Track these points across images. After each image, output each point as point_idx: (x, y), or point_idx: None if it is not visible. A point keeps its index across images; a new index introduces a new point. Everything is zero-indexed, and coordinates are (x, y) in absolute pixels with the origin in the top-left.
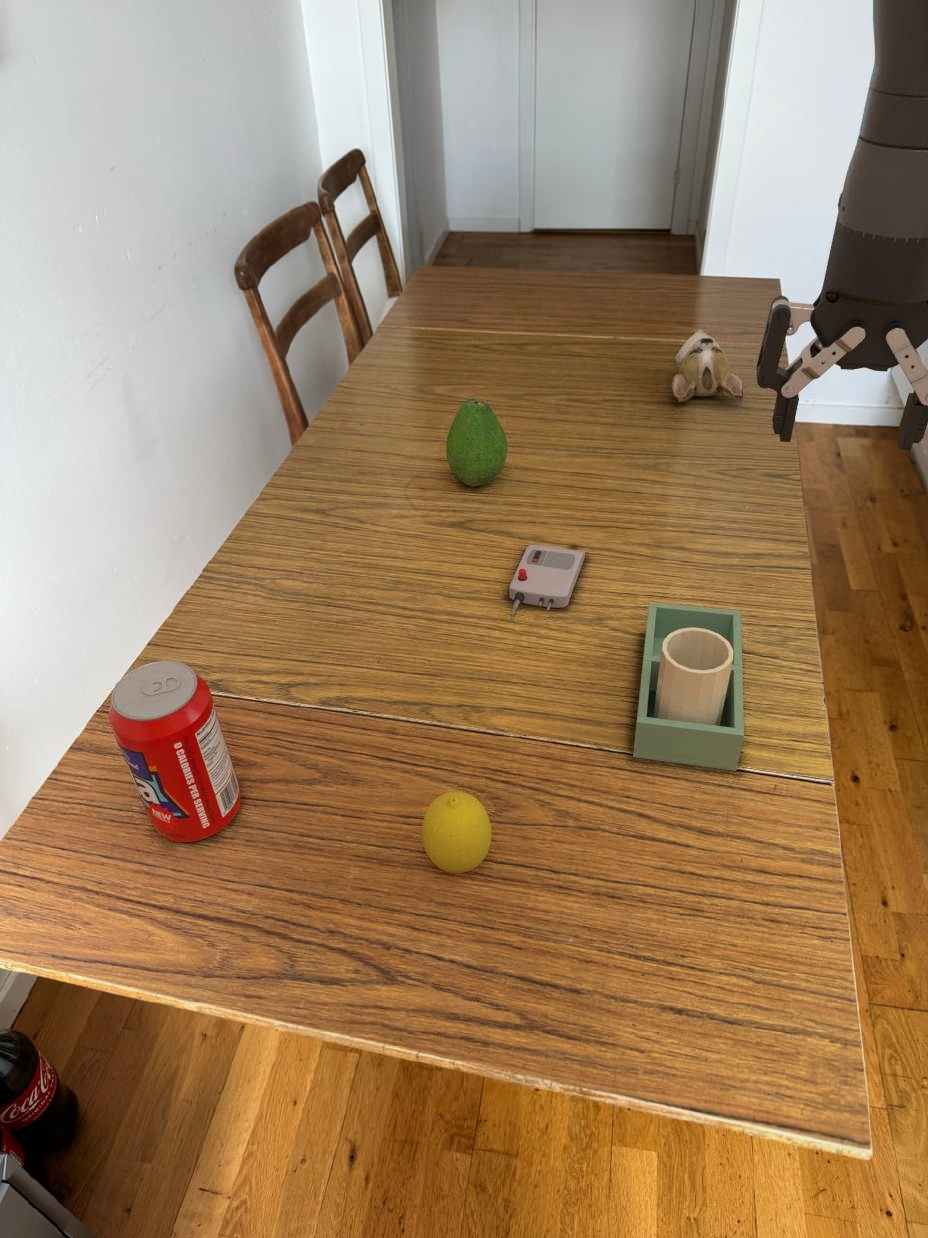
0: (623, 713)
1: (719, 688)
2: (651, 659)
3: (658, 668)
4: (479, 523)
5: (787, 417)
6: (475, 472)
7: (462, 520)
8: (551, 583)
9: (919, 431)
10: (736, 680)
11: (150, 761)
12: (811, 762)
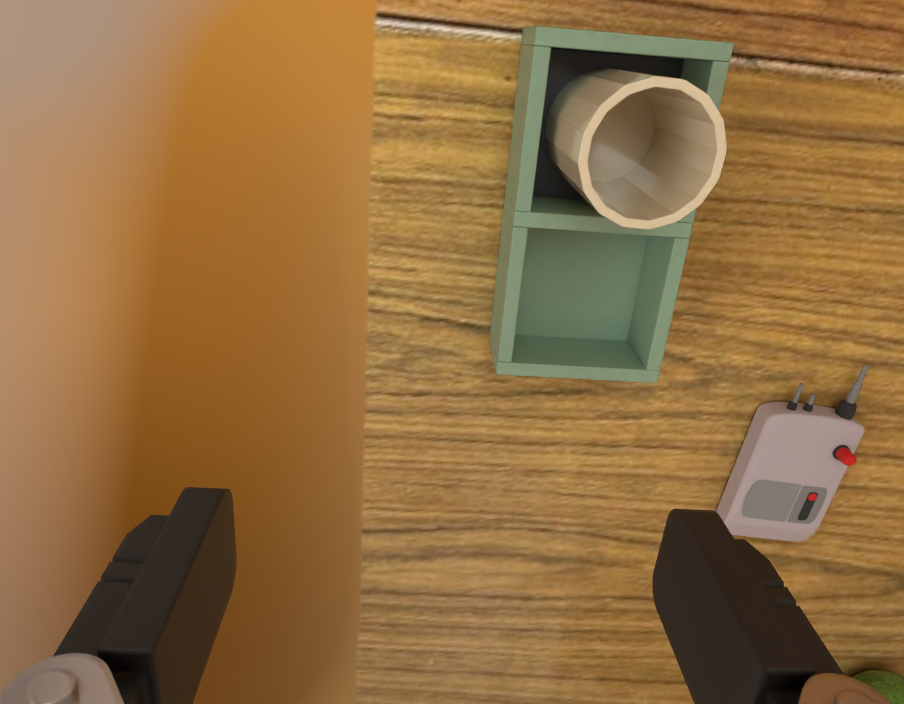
0: None
1: (595, 93)
2: (678, 225)
3: None
4: (871, 588)
5: (754, 588)
6: (896, 688)
7: (899, 593)
8: (792, 443)
9: (140, 553)
10: (529, 183)
11: None
12: (391, 66)
